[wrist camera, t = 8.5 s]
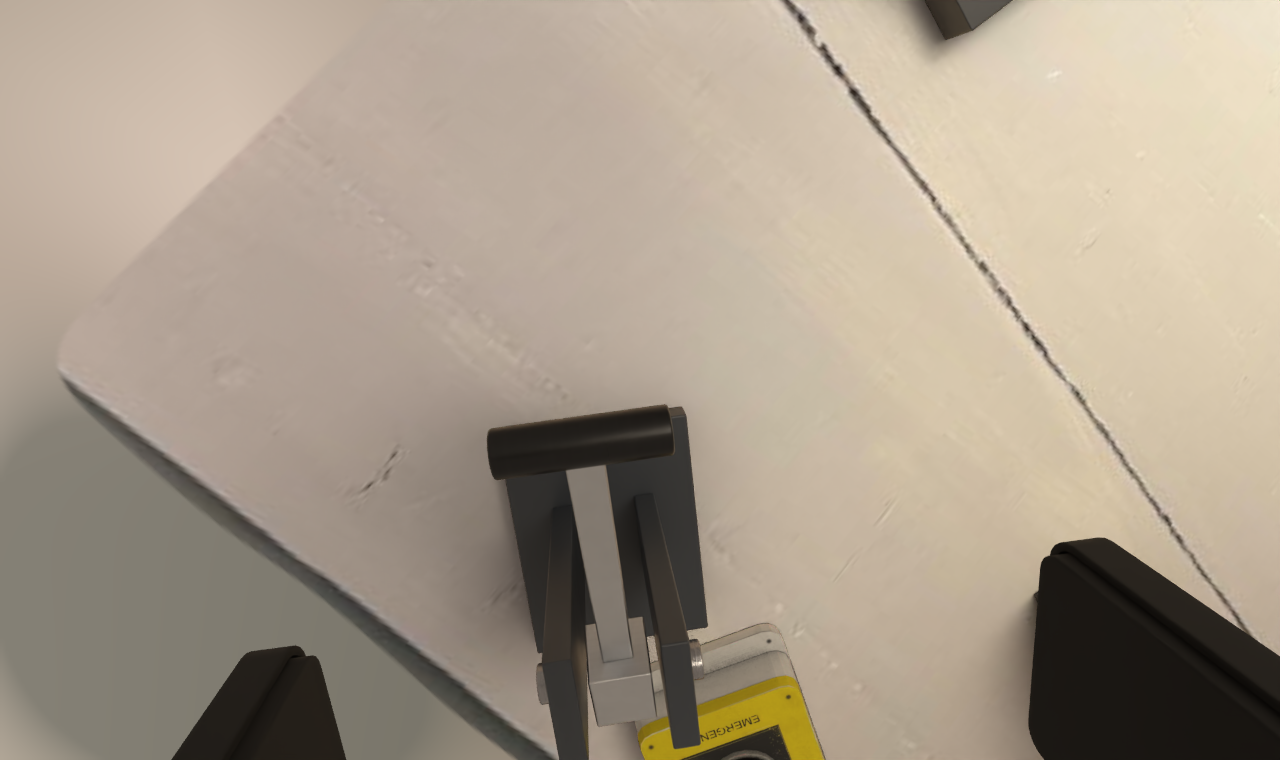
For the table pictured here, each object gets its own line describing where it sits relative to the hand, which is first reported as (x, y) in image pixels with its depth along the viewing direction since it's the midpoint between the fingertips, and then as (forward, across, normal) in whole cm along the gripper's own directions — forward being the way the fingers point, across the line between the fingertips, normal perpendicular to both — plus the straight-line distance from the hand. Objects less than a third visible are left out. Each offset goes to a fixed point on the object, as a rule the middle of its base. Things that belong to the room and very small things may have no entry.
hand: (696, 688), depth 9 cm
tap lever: (+14, +1, +6) cm, 15 cm away
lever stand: (+25, +1, +11) cm, 28 cm away
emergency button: (+26, -5, +26) cm, 37 cm away
